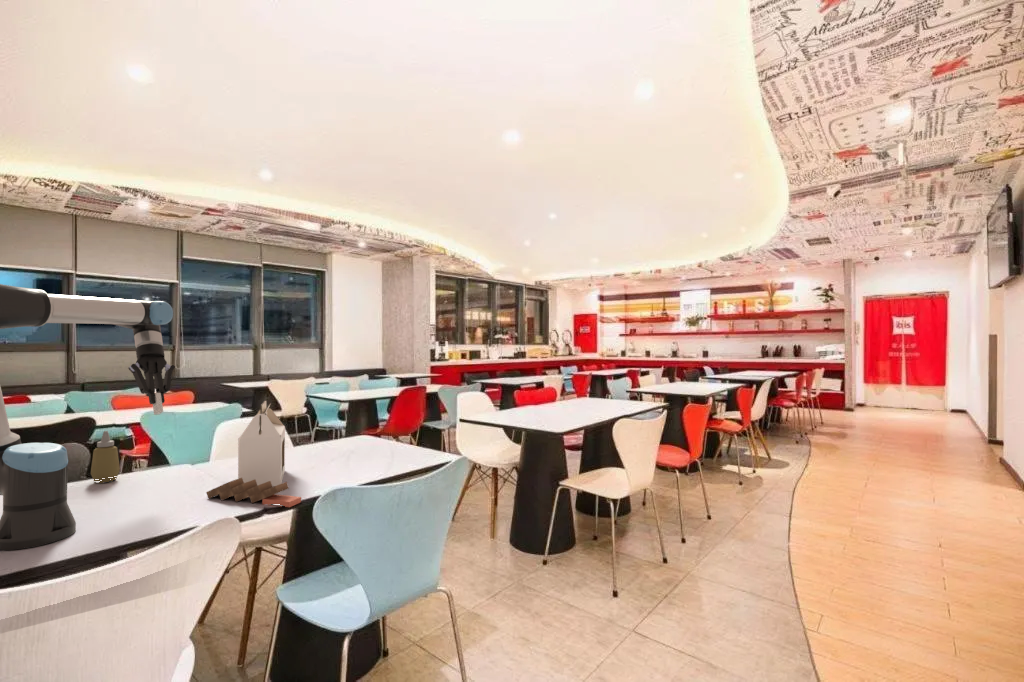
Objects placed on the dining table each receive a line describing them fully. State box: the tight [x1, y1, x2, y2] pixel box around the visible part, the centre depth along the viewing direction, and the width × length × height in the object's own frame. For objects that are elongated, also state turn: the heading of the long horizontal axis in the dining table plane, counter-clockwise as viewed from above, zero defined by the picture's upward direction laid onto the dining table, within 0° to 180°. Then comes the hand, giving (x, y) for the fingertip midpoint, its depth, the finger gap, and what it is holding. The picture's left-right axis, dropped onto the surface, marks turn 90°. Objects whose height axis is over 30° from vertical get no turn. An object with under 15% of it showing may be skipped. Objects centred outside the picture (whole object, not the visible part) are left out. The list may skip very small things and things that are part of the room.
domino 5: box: [261, 493, 302, 508], centre depth 151 cm, size 2×5×10 cm
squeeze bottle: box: [90, 430, 121, 484], centre depth 174 cm, size 8×8×18 cm
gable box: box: [237, 400, 286, 487], centre depth 177 cm, size 22×13×28 cm, turn 22°
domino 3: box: [233, 481, 273, 503], centre depth 153 cm, size 2×5×10 cm
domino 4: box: [249, 481, 290, 504], centre depth 152 cm, size 2×5×10 cm
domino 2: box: [218, 480, 257, 501], centre depth 155 cm, size 2×5×10 cm
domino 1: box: [205, 478, 244, 499], centre depth 156 cm, size 2×5×10 cm
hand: (158, 413), depth 158 cm, fingers closed
